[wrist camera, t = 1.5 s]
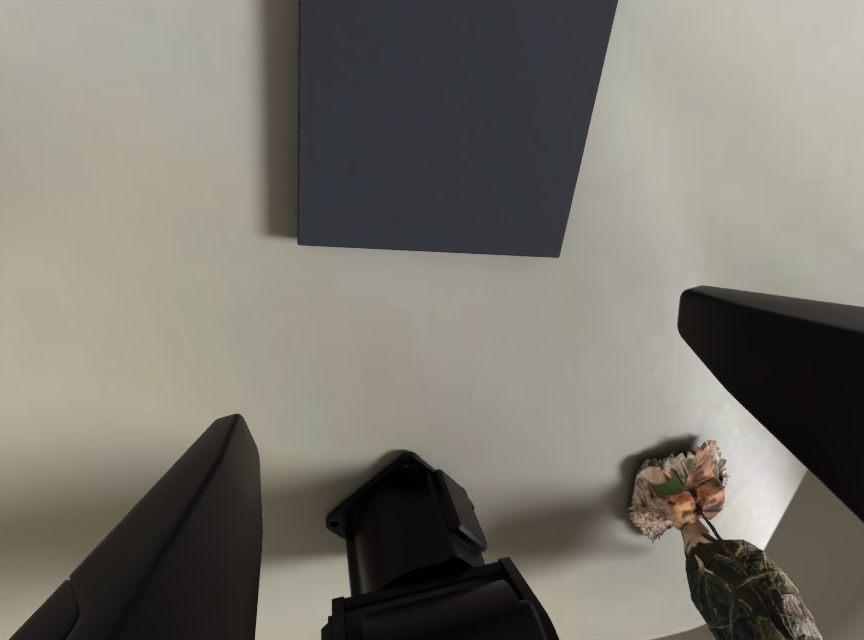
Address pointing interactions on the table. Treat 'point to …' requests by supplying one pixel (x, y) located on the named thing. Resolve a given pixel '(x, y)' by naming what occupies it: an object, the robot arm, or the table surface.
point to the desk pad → (445, 121)
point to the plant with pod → (718, 551)
